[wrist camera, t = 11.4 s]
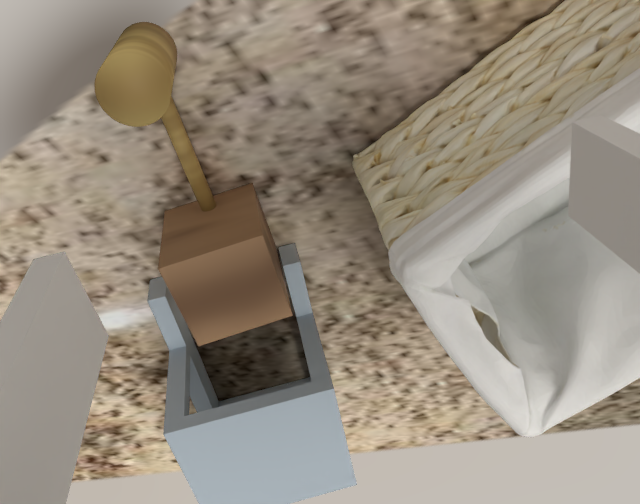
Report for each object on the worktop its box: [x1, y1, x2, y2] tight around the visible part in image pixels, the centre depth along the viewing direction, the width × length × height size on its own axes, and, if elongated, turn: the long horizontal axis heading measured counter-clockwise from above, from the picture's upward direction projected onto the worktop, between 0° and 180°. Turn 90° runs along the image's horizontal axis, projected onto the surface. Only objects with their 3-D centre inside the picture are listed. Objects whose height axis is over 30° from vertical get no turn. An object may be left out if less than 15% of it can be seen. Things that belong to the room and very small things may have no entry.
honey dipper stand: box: [95, 22, 293, 346], centre depth 32 cm, size 17×6×8 cm, turn 15°
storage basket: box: [352, 0, 640, 437], centre depth 33 cm, size 24×16×15 cm
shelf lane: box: [147, 243, 357, 504], centre depth 39 cm, size 14×10×10 cm
